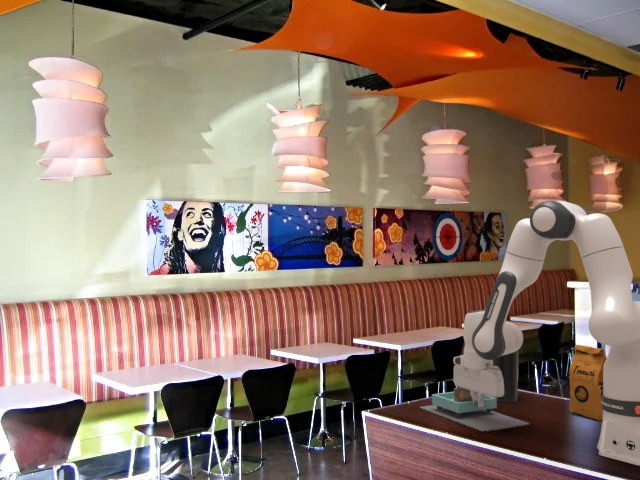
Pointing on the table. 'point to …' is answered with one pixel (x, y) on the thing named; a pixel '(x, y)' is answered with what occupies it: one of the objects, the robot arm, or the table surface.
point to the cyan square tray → (461, 403)
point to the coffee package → (587, 381)
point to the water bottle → (508, 375)
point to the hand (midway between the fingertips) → (478, 406)
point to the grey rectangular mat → (478, 418)
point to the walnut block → (462, 395)
